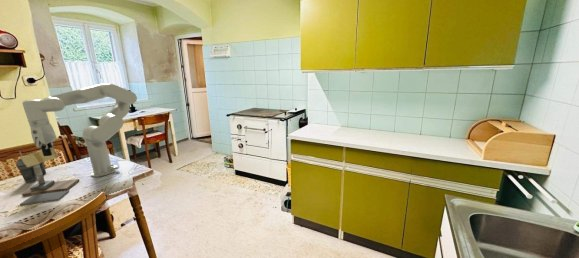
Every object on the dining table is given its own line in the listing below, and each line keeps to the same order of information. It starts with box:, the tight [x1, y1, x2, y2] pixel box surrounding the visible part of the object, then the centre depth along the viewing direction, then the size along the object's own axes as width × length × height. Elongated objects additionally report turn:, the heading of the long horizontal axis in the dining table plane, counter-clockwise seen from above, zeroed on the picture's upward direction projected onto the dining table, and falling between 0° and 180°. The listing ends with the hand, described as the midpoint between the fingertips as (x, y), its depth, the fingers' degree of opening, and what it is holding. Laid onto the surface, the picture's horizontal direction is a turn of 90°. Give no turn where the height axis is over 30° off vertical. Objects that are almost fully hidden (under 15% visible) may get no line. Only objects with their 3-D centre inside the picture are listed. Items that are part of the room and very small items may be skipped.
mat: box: [19, 190, 70, 206], centre depth 123 cm, size 16×9×1 cm, turn 106°
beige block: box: [20, 146, 60, 167], centre depth 129 cm, size 13×6×6 cm, turn 105°
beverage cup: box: [15, 150, 37, 184], centre depth 140 cm, size 7×7×20 cm
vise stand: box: [21, 164, 80, 197], centre depth 132 cm, size 20×12×15 cm, turn 106°
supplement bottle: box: [39, 162, 47, 176], centre depth 150 cm, size 7×7×12 cm
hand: (49, 154), depth 129 cm, fingers closed on beige block
